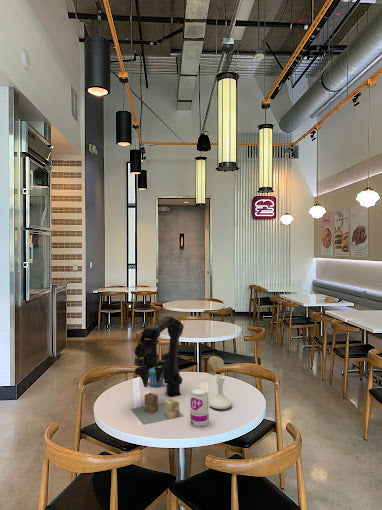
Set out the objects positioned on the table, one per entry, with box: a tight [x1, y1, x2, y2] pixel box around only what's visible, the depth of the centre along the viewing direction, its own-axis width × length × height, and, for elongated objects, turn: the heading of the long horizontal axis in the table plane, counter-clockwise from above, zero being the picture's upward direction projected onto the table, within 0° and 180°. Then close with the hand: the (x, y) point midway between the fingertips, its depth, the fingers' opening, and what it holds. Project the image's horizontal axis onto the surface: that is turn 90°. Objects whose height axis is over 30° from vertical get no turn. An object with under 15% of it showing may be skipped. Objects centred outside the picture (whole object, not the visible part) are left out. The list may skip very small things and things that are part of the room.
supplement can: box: [189, 388, 210, 428], centre depth 171 cm, size 8×8×15 cm
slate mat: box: [130, 402, 185, 426], centre depth 184 cm, size 20×20×1 cm
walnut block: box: [144, 392, 159, 414], centre depth 185 cm, size 4×5×8 cm
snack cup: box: [148, 368, 164, 388], centre depth 224 cm, size 16×10×10 cm
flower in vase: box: [208, 355, 233, 410], centre depth 191 cm, size 13×11×25 cm
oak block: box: [163, 397, 180, 420], centre depth 179 cm, size 5×5×7 cm
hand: (151, 384), depth 189 cm, fingers open, 9 cm apart
